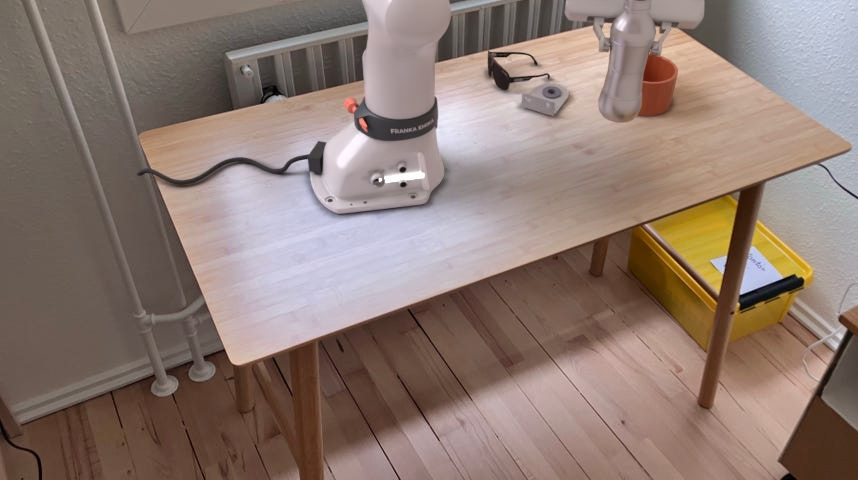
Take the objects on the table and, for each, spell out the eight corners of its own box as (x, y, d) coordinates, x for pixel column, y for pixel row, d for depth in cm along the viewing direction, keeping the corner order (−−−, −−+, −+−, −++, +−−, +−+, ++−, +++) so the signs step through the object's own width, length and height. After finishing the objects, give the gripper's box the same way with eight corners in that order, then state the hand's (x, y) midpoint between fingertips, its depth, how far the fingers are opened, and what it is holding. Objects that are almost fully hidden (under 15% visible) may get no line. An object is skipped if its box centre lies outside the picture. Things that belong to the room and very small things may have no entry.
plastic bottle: (596, 103, 134) (614, -17, 120) (638, 107, 133) (661, -13, 119) (595, 125, 129) (614, 3, 115) (639, 130, 129) (663, 7, 115)
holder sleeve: (632, 120, 156) (638, 88, 151) (602, 90, 163) (607, 58, 158) (682, 109, 160) (689, 76, 155) (650, 80, 167) (656, 48, 162)
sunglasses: (478, 69, 167) (481, 46, 164) (530, 65, 172) (535, 43, 169) (499, 95, 160) (504, 72, 157) (553, 91, 165) (559, 68, 162)
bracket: (573, 93, 162) (575, 77, 160) (552, 118, 156) (554, 102, 153) (542, 83, 164) (544, 68, 162) (520, 108, 158) (522, 92, 155)
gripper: (568, -54, 120) (560, 41, 120) (711, -44, 120) (703, 51, 119) (565, -37, 127) (558, 54, 126) (700, -27, 126) (693, 63, 126)
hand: (630, 53), depth 123 cm, fingers closed on plastic bottle, 6 cm apart
